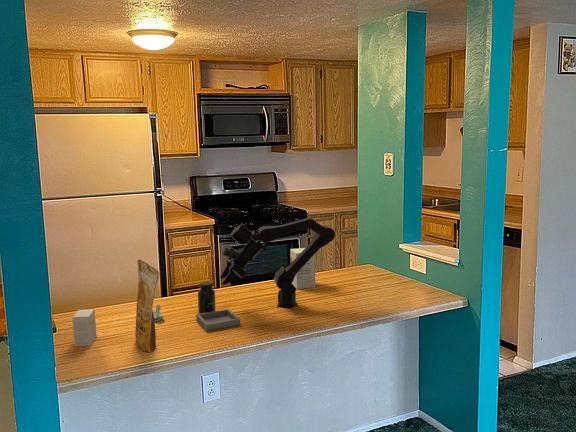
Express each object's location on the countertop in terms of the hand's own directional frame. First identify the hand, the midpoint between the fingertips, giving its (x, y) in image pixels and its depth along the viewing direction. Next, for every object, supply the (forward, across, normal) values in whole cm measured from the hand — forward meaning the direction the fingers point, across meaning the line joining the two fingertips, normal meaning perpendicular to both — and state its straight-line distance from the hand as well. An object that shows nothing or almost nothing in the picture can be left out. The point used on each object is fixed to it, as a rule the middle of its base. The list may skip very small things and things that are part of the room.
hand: (221, 281), depth 217 cm
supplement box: (-19, -26, +36) cm, 49 cm away
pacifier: (+28, +3, -9) cm, 29 cm away
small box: (+44, +20, -26) cm, 55 cm away
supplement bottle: (+13, 0, +4) cm, 14 cm away
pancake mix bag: (+29, +27, -11) cm, 41 cm away
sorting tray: (+11, +13, +7) cm, 18 cm away
